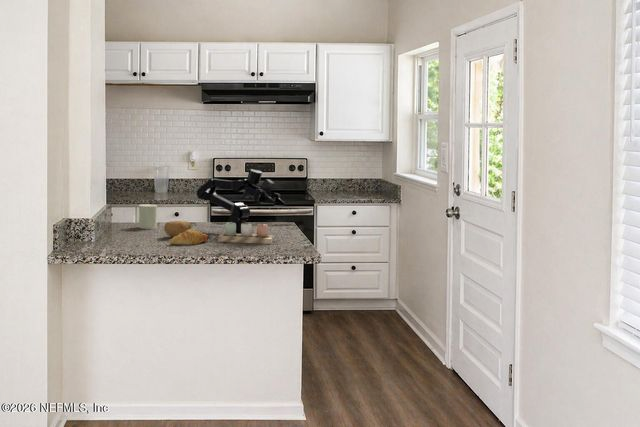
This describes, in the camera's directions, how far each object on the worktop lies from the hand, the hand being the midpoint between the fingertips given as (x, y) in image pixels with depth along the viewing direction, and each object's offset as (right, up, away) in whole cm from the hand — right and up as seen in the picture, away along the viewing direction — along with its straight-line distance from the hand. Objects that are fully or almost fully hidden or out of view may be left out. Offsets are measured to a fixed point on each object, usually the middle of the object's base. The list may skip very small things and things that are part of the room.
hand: (280, 203), depth 389 cm
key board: (-16, -18, -8) cm, 25 cm away
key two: (-16, -15, -9) cm, 23 cm away
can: (-69, -12, +23) cm, 74 cm away
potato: (-49, -16, -5) cm, 52 cm away
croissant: (-41, -19, -20) cm, 49 cm away
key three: (-8, -15, -9) cm, 20 cm away
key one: (-23, -15, -8) cm, 29 cm away
